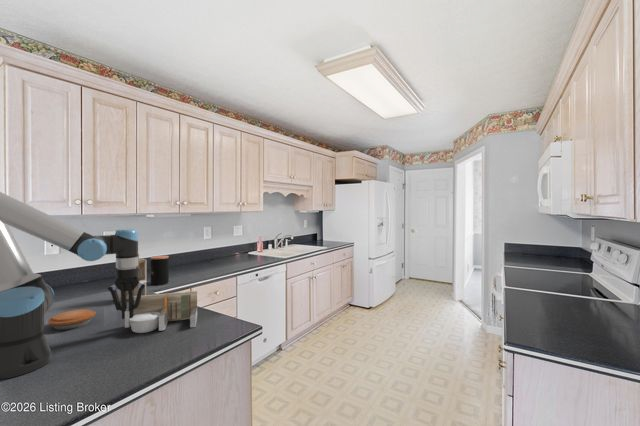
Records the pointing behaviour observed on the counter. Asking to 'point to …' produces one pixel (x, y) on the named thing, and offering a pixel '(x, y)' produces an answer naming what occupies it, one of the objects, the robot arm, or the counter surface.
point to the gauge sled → (163, 316)
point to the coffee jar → (159, 270)
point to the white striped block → (193, 317)
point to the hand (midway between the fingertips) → (127, 326)
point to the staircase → (141, 275)
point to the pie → (71, 319)
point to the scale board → (169, 304)
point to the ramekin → (144, 322)
